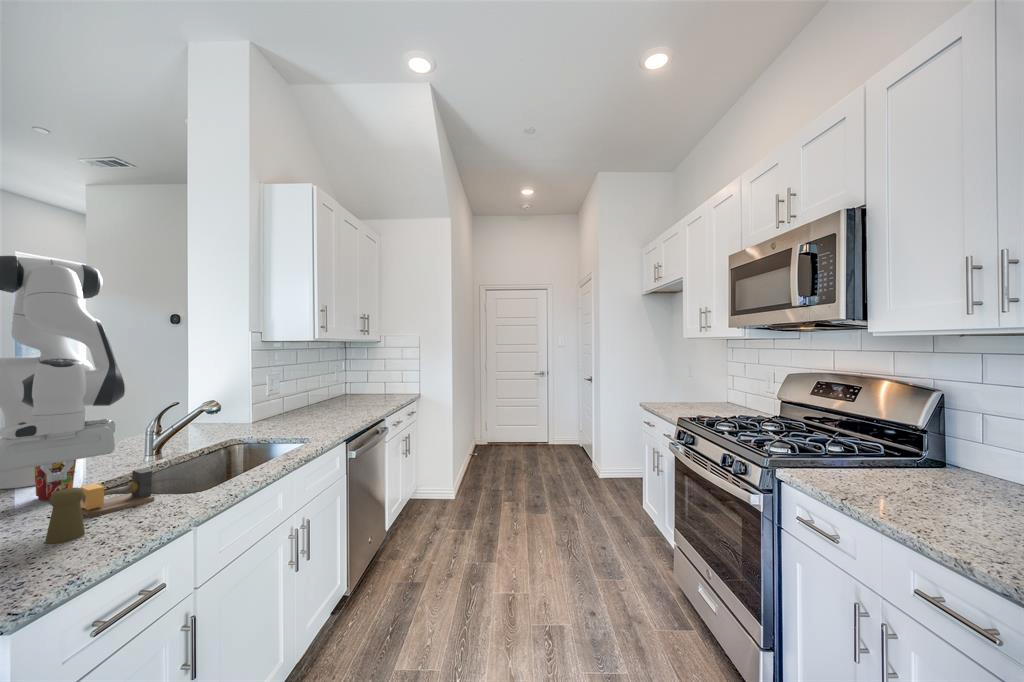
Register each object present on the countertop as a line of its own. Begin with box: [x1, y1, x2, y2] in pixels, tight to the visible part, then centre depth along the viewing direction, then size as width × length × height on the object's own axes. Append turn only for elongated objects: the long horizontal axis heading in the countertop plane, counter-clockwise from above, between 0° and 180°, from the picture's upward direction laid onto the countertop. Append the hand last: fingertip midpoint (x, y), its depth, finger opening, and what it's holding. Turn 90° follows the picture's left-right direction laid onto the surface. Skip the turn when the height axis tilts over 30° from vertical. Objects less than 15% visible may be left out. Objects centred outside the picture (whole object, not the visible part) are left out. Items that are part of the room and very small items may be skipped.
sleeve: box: [80, 482, 105, 510], centre depth 103 cm, size 5×3×5 cm, turn 63°
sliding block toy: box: [81, 467, 155, 518], centre depth 107 cm, size 9×13×8 cm
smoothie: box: [34, 459, 77, 502], centre depth 112 cm, size 8×8×20 cm
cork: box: [44, 487, 86, 546], centre depth 89 cm, size 6×6×11 cm
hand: (56, 480), depth 97 cm, fingers closed
